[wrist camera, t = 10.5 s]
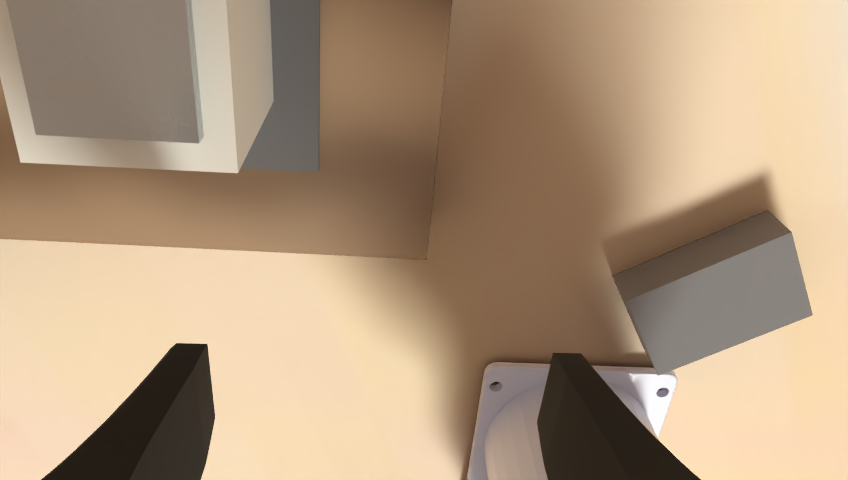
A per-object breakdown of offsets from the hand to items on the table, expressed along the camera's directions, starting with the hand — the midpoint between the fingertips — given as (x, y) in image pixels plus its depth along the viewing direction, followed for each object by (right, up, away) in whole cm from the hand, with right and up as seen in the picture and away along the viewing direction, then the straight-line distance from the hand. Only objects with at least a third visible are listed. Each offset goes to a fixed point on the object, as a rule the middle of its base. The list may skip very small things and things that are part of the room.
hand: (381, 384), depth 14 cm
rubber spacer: (+12, +2, +12) cm, 17 cm away
